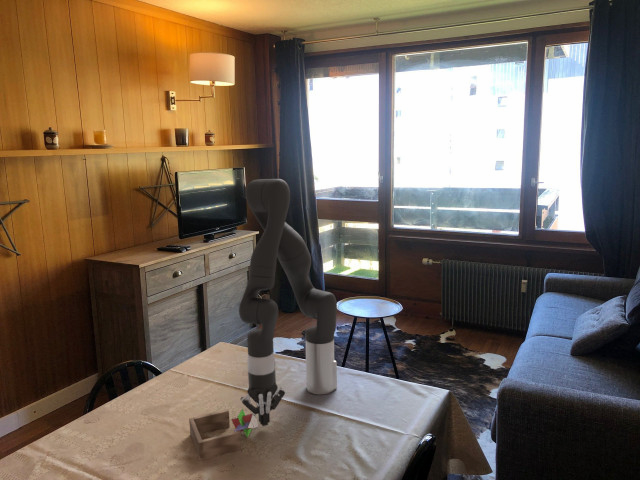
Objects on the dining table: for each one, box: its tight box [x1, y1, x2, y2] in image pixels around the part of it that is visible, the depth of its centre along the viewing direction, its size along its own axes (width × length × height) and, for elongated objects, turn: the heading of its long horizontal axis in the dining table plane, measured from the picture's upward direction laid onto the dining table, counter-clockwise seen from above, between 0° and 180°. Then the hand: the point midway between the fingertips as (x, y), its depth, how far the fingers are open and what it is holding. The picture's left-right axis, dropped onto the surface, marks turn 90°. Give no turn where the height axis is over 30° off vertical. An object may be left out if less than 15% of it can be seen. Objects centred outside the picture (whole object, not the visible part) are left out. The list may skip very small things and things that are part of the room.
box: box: [188, 409, 242, 461], centre depth 140 cm, size 11×13×5 cm
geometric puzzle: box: [230, 408, 259, 438], centre depth 144 cm, size 7×7×8 cm
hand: (264, 424), depth 146 cm, fingers closed
